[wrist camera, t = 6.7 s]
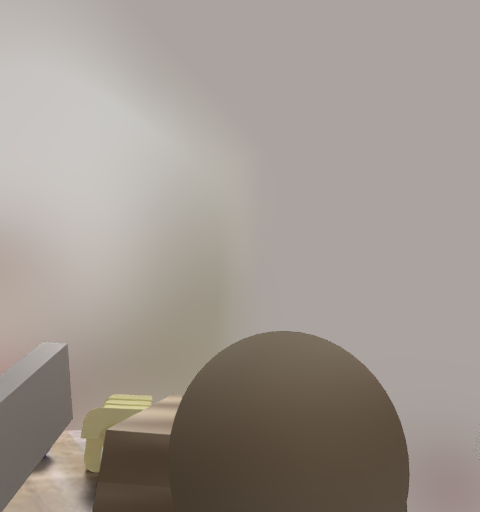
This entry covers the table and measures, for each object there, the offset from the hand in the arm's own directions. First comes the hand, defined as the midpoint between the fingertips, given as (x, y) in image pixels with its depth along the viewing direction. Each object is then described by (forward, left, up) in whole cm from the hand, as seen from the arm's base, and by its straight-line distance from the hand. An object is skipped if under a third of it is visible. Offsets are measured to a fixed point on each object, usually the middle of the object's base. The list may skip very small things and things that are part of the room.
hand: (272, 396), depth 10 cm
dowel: (-5, +8, -3) cm, 10 cm away
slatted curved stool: (-83, +70, -33) cm, 114 cm away
